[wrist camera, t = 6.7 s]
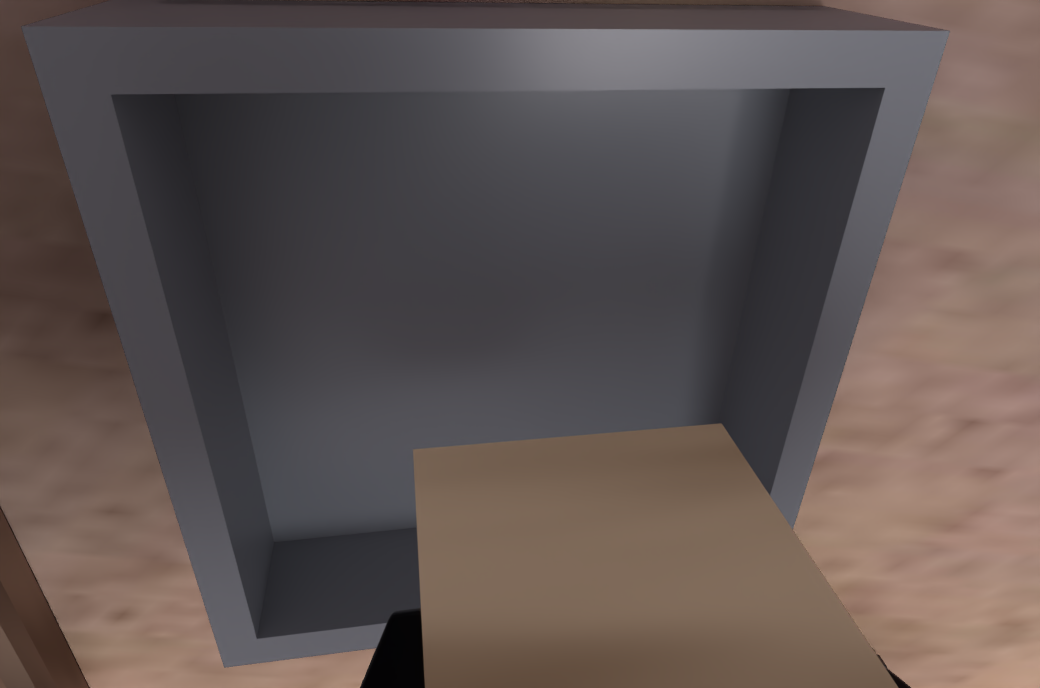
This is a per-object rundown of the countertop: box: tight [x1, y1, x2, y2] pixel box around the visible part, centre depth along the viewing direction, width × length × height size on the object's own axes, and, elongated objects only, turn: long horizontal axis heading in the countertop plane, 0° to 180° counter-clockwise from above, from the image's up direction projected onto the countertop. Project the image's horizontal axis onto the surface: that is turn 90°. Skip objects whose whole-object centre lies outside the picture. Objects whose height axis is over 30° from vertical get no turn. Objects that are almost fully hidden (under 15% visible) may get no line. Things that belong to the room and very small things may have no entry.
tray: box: [21, 0, 950, 668], centre depth 14 cm, size 13×13×4 cm
